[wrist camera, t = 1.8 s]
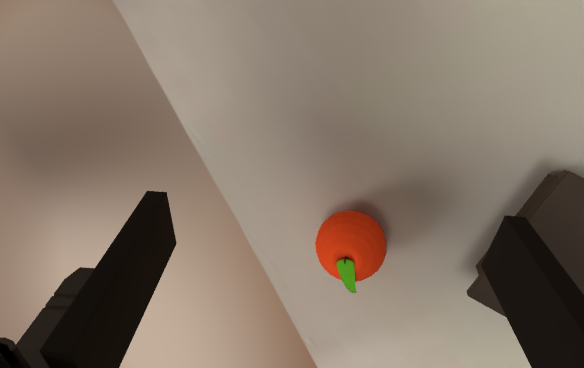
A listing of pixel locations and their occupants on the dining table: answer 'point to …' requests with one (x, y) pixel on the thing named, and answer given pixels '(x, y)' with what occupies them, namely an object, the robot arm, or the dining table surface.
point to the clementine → (351, 247)
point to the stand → (549, 231)
